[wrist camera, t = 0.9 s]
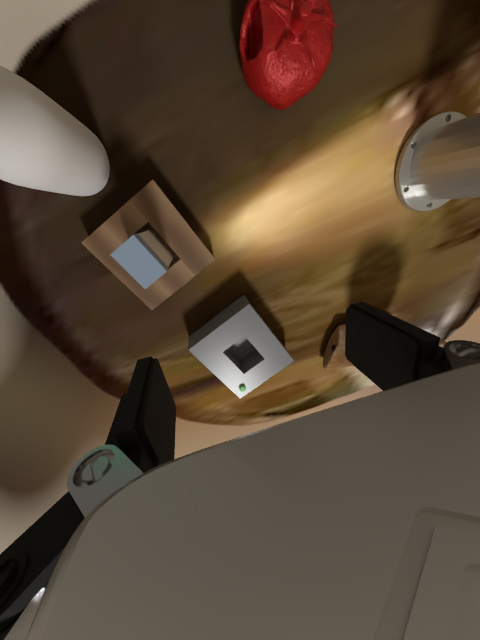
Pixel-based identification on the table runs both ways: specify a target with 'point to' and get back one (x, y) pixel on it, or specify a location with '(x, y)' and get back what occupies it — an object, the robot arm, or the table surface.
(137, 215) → the slotted socket block
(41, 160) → the milk bottle
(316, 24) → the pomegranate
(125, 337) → the table surface
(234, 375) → the port block
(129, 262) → the plug
